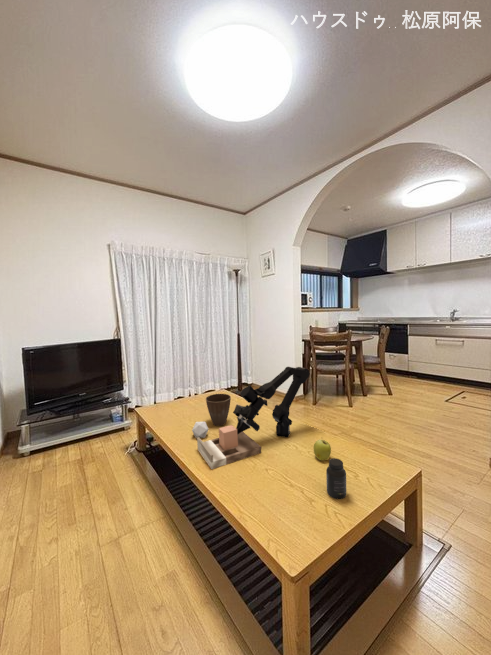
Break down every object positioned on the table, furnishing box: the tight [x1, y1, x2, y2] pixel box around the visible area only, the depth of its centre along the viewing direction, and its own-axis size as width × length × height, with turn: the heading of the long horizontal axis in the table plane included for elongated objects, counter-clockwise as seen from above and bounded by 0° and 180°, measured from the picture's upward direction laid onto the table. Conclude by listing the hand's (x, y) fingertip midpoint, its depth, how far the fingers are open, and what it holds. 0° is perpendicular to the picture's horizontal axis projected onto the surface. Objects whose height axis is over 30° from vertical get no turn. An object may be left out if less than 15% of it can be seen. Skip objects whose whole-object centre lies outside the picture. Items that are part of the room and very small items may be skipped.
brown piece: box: [196, 431, 262, 470], centre depth 127 cm, size 25×19×6 cm
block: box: [218, 424, 238, 450], centre depth 126 cm, size 7×6×8 cm
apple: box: [313, 438, 332, 461], centre depth 118 cm, size 8×8×10 cm
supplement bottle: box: [325, 457, 347, 500], centre depth 95 cm, size 7×7×12 cm
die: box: [191, 421, 209, 439], centre depth 143 cm, size 8×9×10 cm
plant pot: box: [205, 393, 232, 427], centre depth 158 cm, size 15×15×16 cm
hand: (235, 434), depth 128 cm, fingers closed
